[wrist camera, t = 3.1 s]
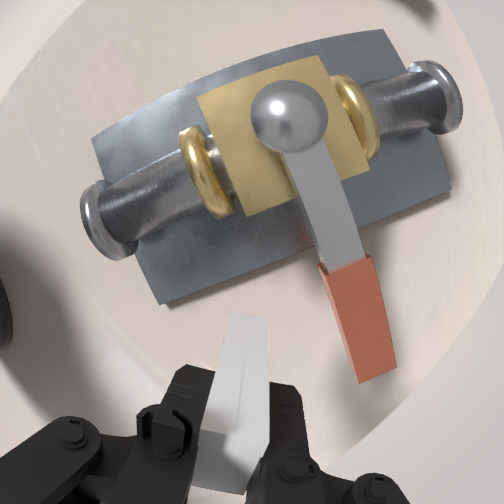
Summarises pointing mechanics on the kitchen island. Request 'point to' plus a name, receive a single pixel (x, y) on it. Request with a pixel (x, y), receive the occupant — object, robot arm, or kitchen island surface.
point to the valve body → (264, 161)
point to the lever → (327, 220)
